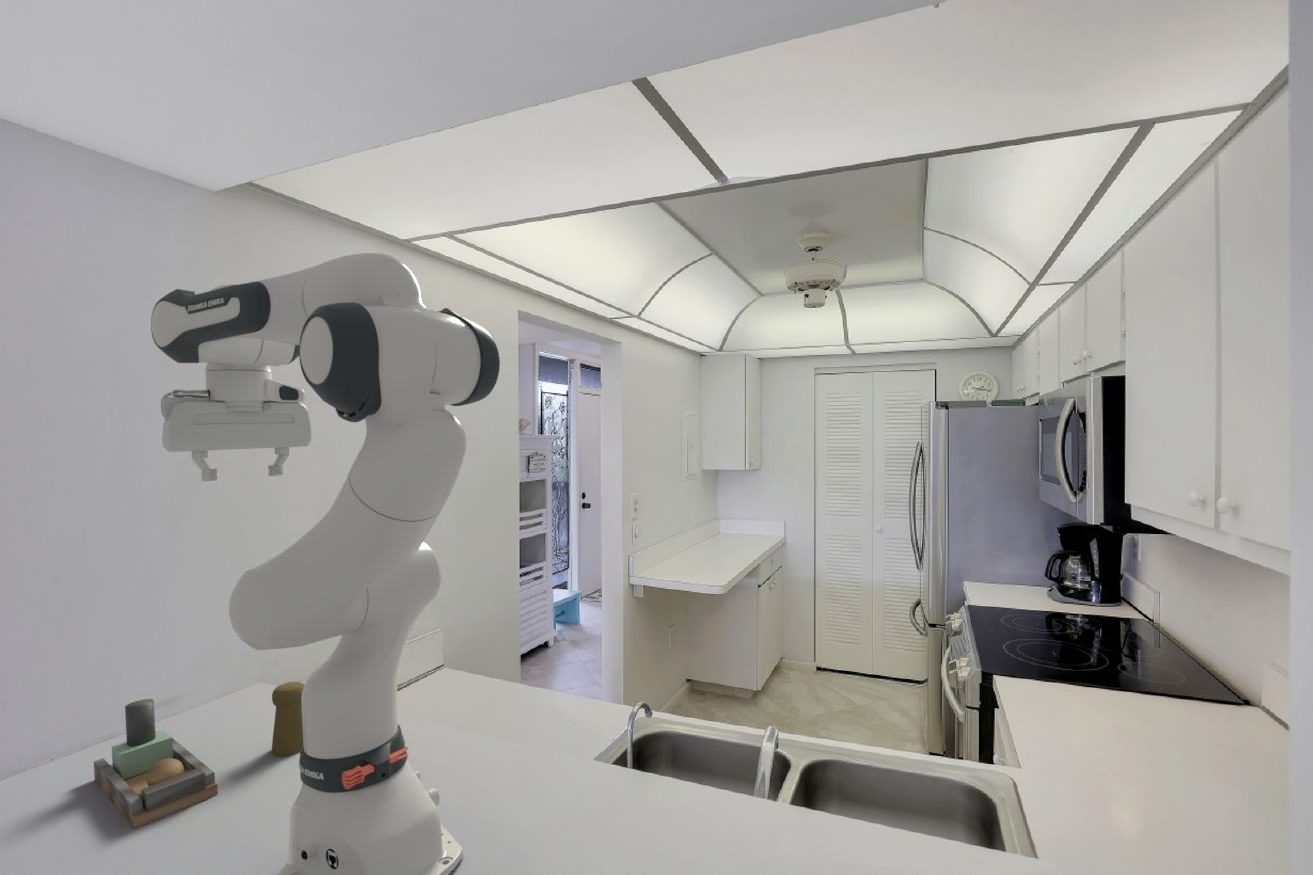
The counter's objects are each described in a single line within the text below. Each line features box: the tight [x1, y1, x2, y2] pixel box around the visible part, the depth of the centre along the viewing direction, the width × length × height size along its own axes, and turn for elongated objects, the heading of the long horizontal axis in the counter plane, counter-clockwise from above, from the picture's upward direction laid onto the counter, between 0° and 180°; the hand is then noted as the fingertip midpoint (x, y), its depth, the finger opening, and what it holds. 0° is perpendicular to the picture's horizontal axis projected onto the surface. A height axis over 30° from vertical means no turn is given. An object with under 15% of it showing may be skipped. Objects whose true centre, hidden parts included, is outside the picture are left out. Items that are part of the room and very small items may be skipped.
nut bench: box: [93, 737, 219, 829], centre depth 99 cm, size 22×10×4 cm, turn 52°
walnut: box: [147, 758, 184, 786], centre depth 95 cm, size 4×4×4 cm
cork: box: [271, 681, 305, 757], centre depth 110 cm, size 6×6×11 cm
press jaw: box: [111, 698, 173, 780], centre depth 102 cm, size 5×7×10 cm
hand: (243, 478), depth 101 cm, fingers open, 8 cm apart
